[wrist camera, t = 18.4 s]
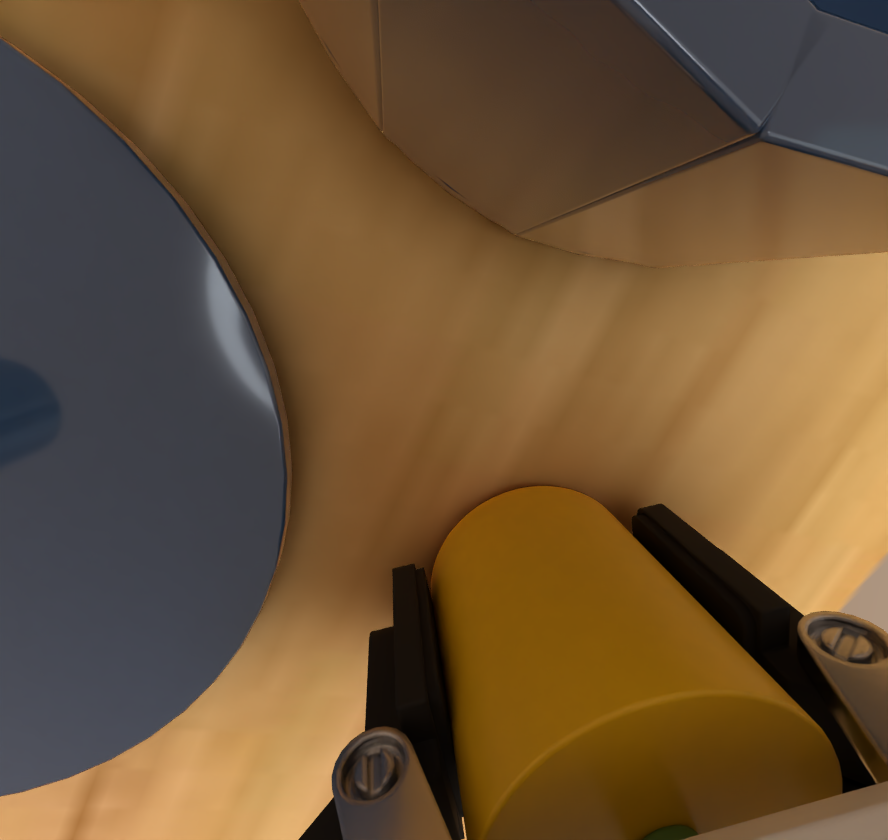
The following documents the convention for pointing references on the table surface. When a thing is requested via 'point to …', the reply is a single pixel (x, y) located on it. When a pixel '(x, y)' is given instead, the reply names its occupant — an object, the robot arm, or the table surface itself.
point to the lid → (119, 441)
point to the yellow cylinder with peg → (603, 686)
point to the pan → (637, 118)
